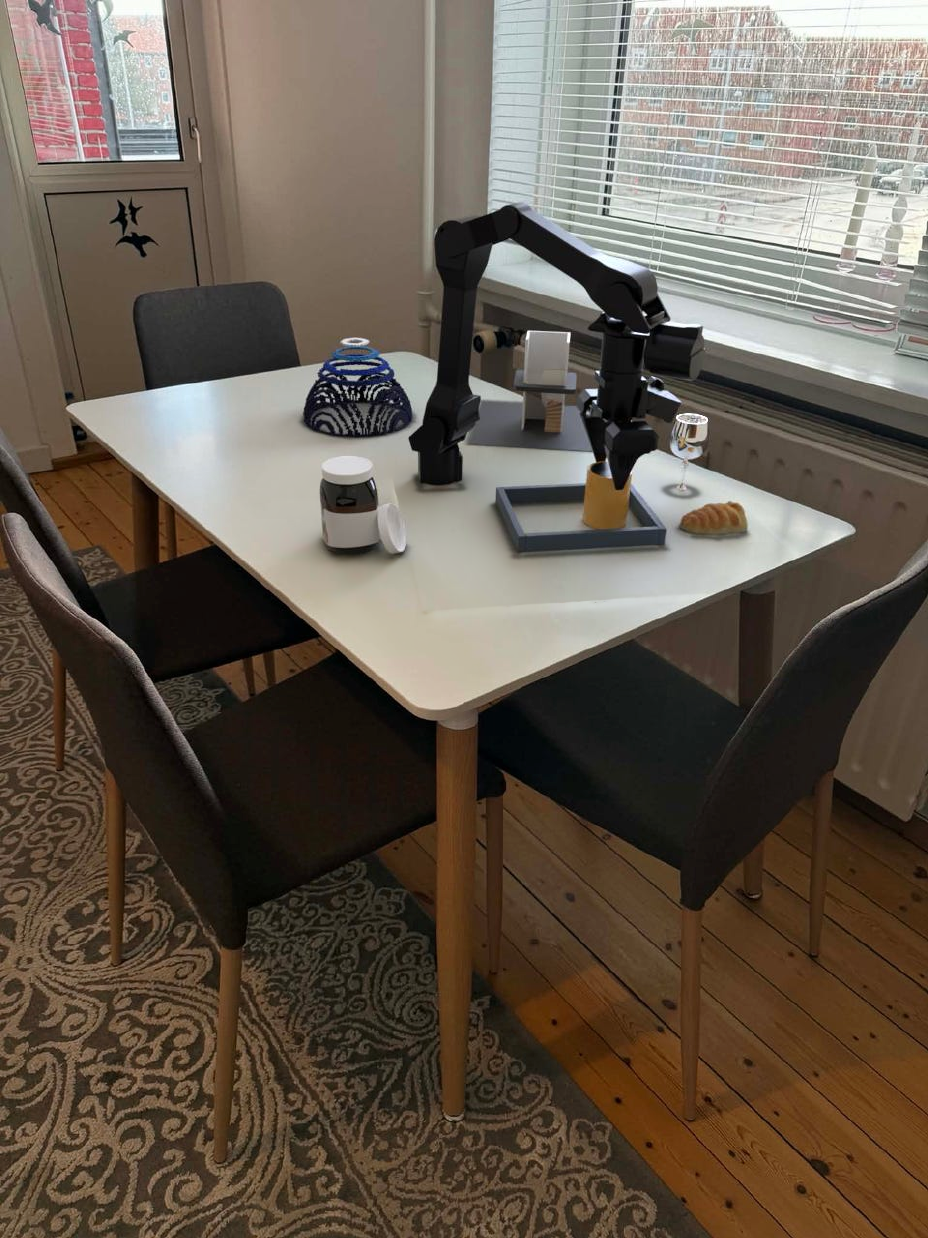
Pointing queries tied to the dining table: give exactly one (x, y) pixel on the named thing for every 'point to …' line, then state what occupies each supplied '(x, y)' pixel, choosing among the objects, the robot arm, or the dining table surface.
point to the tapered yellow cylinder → (604, 498)
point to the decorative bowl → (362, 382)
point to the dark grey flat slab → (537, 402)
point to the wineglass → (689, 439)
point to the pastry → (715, 519)
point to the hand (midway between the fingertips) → (609, 476)
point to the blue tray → (582, 538)
